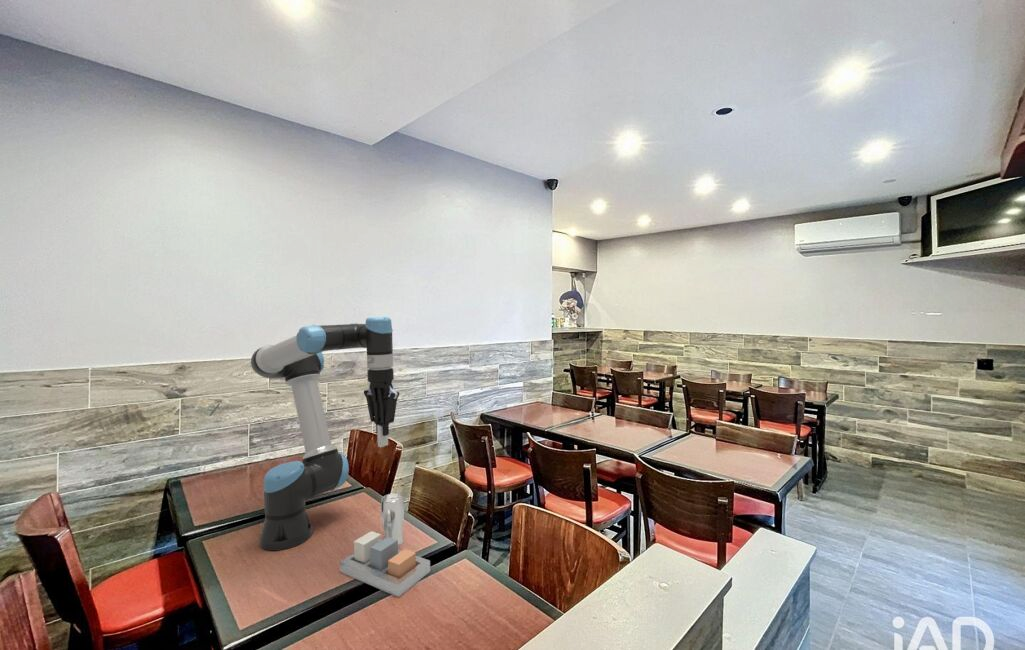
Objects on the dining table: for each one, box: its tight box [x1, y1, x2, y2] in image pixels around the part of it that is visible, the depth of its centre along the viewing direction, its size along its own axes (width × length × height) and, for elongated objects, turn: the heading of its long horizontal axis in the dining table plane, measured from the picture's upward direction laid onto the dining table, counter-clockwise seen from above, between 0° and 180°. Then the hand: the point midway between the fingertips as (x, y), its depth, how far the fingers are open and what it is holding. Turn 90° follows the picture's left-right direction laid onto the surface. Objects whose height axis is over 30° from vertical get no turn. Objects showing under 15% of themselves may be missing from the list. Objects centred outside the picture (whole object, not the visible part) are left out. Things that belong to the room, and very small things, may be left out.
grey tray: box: [339, 548, 431, 598], centre depth 118 cm, size 22×12×4 cm, turn 60°
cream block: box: [353, 531, 382, 563], centre depth 121 cm, size 4×6×5 cm, turn 150°
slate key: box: [370, 537, 399, 569], centre depth 117 cm, size 4×6×5 cm, turn 150°
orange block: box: [388, 548, 417, 579], centre depth 114 cm, size 4×6×5 cm, turn 150°
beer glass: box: [380, 492, 405, 546], centre depth 133 cm, size 7×7×15 cm
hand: (383, 445), depth 129 cm, fingers closed
